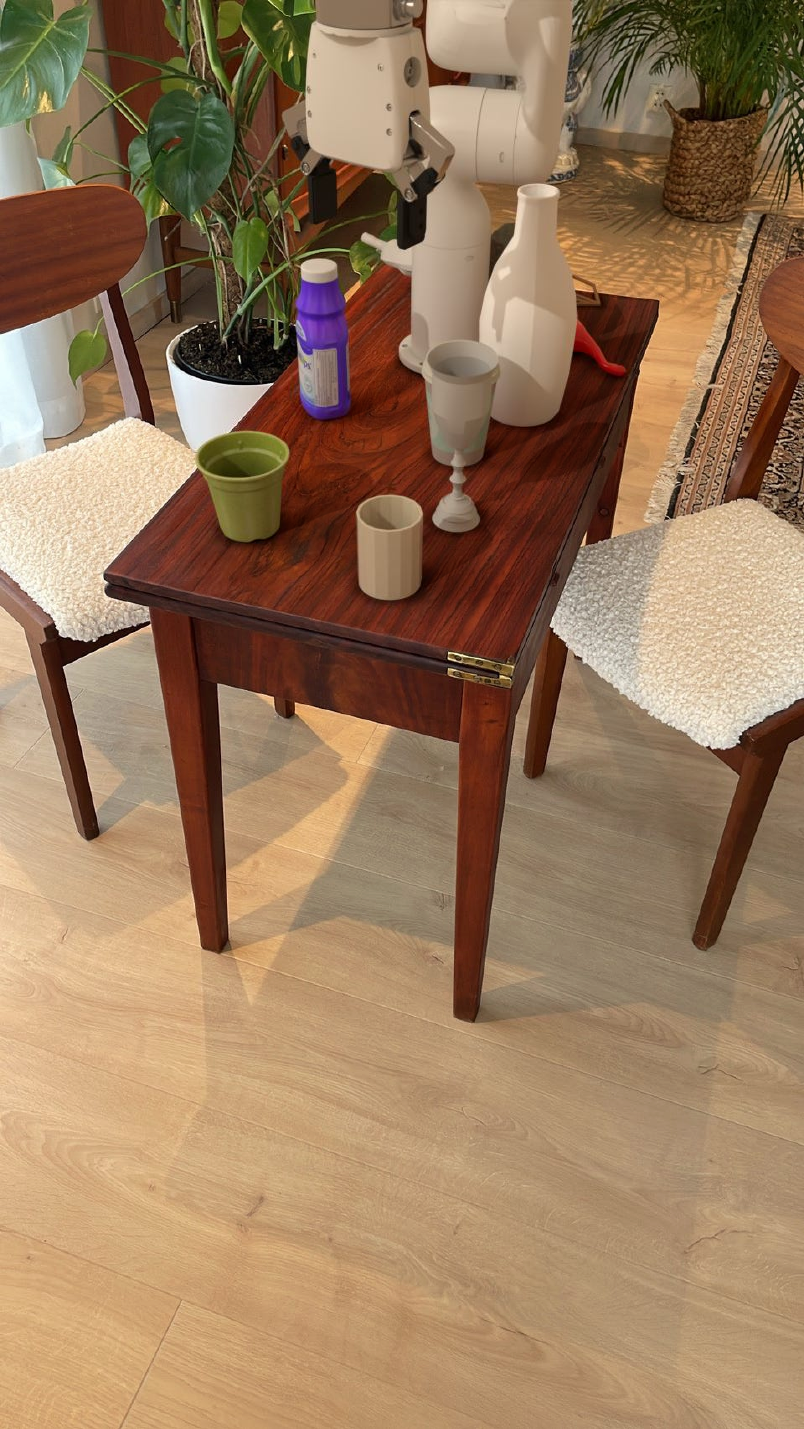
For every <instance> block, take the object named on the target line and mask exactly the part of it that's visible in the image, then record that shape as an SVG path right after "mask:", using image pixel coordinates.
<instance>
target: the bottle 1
mask: <svg viewBox="0 0 804 1429" xmlns="http://www.w3.org/2000/svg"><path fill="white" fill-rule="evenodd" d="M300 282H301V283H300V292H299V295H298V297H297V298H296V301H295V308H296V311H298V314H297V318H296V320H295V333H296V343H297V344H296V345H297V360H298V362H297V363H298V378H299V397H300V401H301V404H302V406H303V408H304V410H305V411H306V413H308V415H310V417H312V418H314V419H315V420H320V421H321V420H322V421H323V420H325V421H326V420H332V419H337V418H341V417H343V416H346V415H347V414H348V412H349V411H350V408H351V404H352V395H351V380H350V377H351V375H350V351H349V350H350V348H349V346H350V345H349V338H350V337H349V327H348V322H347V320H346V316H345V313H344V310H345V308H346V304H347V303H346V299H345V298H344V296H343V294H342V291H341V289H340V286H339V274H338V264H337V262H335V261H334V260H332V259H328V258H311V259H307V260H305V261H304V262H302V263H301V265H300Z"/></svg>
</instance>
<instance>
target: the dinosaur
mask: <svg viewBox="0 0 804 1429" xmlns="http://www.w3.org/2000/svg"><path fill="white" fill-rule="evenodd" d="M577 352H578V353H583V354H587V355H589V356H590V357H592V358H593V359H594V360H595V362H596V363H597V364H598V365H599V367H600V368H601V369H602V370H604V372H607V373H609V374H610V375H613V376H616V377H623V376H624V375H625V374H626V372H627V370H626V368H625V366H623V365H622V364H619V365H618V364H617V363H613V362H612V363H611V362H609V361H607V359H606V357H605V355H604V353H603V351H602V349H601V348H600V346H599V345H598V344H597V343H596V341H595V340H594V338H593V337H592V336H591V335H590V333H589V332H588V330H587V329H586V327H585V326H584V324H583V323H582V322H581V321H580V320H579V314H578V313H577V326H576V333H575V339H574V346H573V352H572V353H577Z"/></svg>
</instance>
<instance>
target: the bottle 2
mask: <svg viewBox="0 0 804 1429" xmlns="http://www.w3.org/2000/svg"><path fill="white" fill-rule="evenodd" d="M516 195H517V206H516V214H515V215H516V217H515V222H516V223H515V222H514V223H515V231H514V236H513V237H512V239H511V241H510V242H509V244H508V245H507V247H506V249H505V250H504V252H503V253H502V255H501V256H500V258H499V260H498V261H497V263H496V264H495V267H494V270H493V272H492V275H491V278H490V281H489V283H488V286H487V289H486V292H485V296H484V301H483V306H482V311H481V315H480V320H479V342H480V343H483V344H485V345H487V346H489V347H490V348H492V349H493V350H494V351H495V353H496V354H497V356H498V362H499V365H500V372H501V374H500V377H499V379H498V380H497V382H496V388H495V393H494V399H493V404H492V410H491V415H490V418H492V419H493V420H495V421H497V422H498V423H500V424H503V425H507V426H511V427H522V428H526V427H536V426H541V425H544V424H546V423H548V422H549V421H551V420H552V419H553V418H555V416H556V415H557V414H558V413H559V411H560V409H561V406H562V405H561V404H562V401H563V398H564V394H565V390H566V387H567V382H568V378H569V375H570V370H571V364H572V358H573V353H574V352H573V346H574V339H575V333H576V326H577V314H578V310H577V308H578V306H577V305H576V302H577V301H576V288H575V283H574V279H573V278H572V275H573V274H572V269H571V266H570V265H569V262H568V260H567V258H566V255H565V253H564V251H563V249H562V247H561V245H560V242H559V240H558V237H557V228H558V227H557V226H558V206H559V204H558V203H559V199H560V196H561V190H560V189H559V188H558V187H556V186H554V185H551V184H548V183H547V184H546V183H542V184H527V185H524V186H519V187H518V188H517V192H516Z"/></svg>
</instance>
